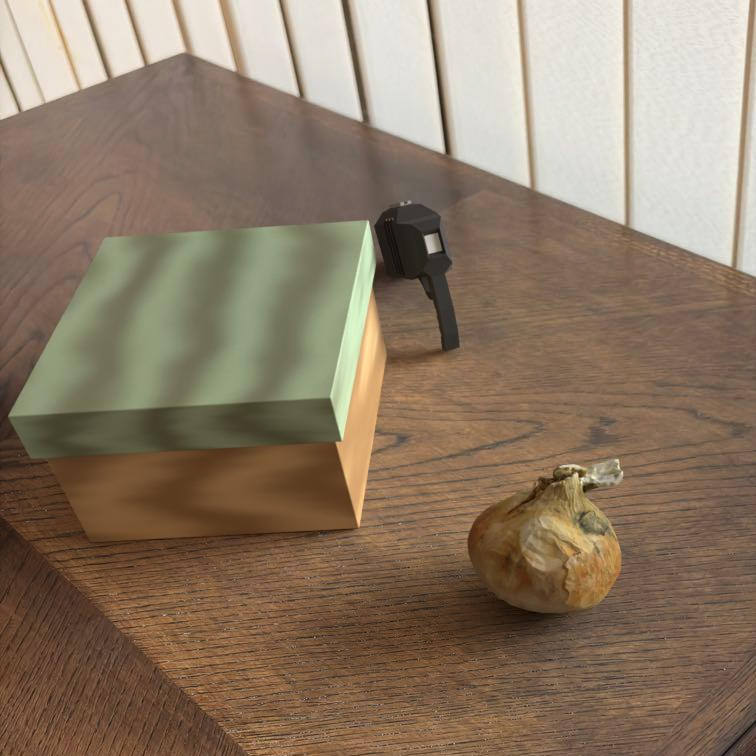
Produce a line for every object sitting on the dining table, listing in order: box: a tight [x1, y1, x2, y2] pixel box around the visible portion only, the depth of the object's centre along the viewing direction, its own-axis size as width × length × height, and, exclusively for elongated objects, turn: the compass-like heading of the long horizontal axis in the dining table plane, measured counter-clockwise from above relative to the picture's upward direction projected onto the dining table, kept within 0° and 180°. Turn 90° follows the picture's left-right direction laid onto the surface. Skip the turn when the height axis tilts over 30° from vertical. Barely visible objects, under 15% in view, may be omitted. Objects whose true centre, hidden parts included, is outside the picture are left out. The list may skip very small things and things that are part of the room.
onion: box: [466, 458, 624, 615], centre depth 55 cm, size 8×8×8 cm
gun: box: [373, 199, 461, 352], centre depth 76 cm, size 3×16×10 cm, turn 21°
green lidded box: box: [7, 219, 388, 543], centre depth 65 cm, size 17×18×10 cm
